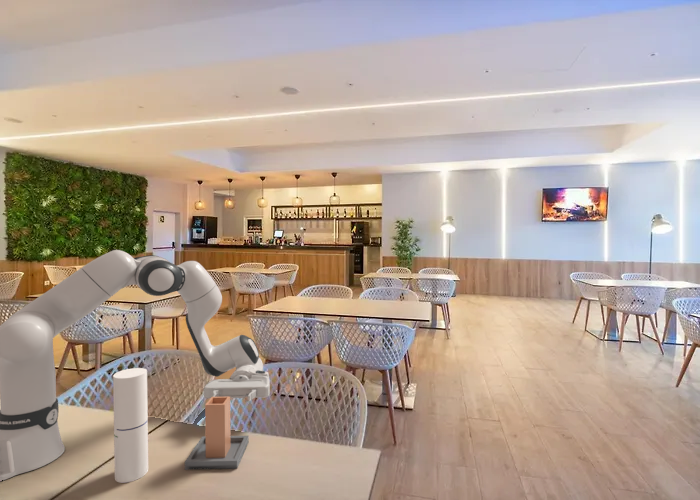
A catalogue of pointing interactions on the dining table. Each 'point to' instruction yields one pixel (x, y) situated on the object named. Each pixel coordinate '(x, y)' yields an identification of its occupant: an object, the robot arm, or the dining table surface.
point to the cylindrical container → (130, 424)
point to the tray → (229, 462)
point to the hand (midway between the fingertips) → (231, 399)
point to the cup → (217, 427)
